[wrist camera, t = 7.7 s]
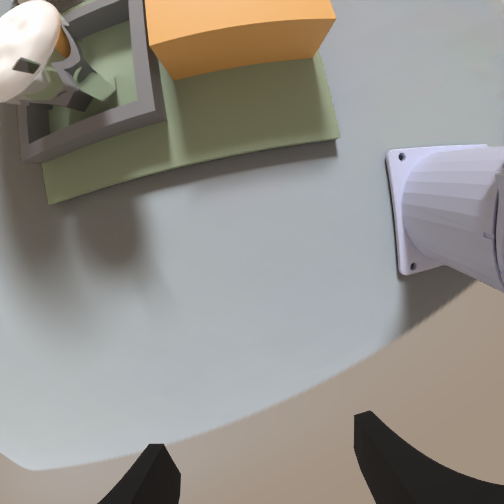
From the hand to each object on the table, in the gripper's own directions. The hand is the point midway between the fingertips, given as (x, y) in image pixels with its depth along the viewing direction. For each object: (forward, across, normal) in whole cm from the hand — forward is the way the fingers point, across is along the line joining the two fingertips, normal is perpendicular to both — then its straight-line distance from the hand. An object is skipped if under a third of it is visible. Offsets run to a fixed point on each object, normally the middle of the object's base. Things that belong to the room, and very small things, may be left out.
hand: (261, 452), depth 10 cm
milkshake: (+9, +6, -17) cm, 20 cm away
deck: (+10, +2, -18) cm, 21 cm away
